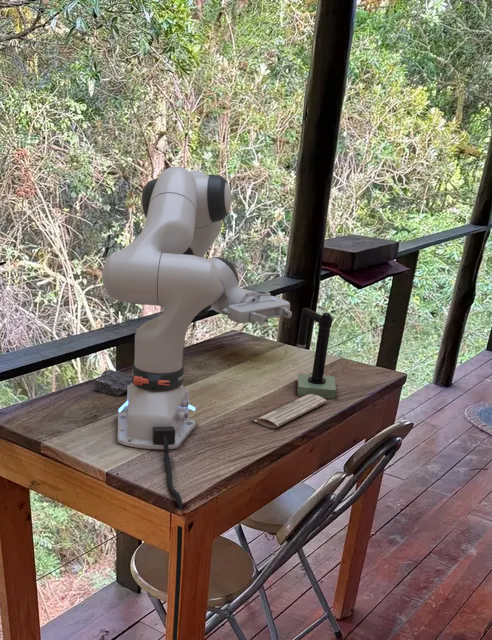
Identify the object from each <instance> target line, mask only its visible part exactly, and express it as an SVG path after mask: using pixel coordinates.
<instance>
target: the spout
mask: <svg viewBox="0 0 492 640" xmlns="http://www.w3.org/2000/svg"><path fill="white" fill-rule="evenodd" d="M310 319H311V320H312V321H314V322H317V323H318V324H317V325H318V328H319V327H321V328H330V329H331V328H332V327H333V321H334V320H333V319H334V318H333V316H332V315H331V313H329V312H323V313H322V314H320V313H318V312H316V311H314V310H312V309H310V308H308V307H303V308H302V310H301V315H300V321H299V329H298V338H297V343H296V348H299V349H306V347H307V336H308V327H309V321H310Z"/></svg>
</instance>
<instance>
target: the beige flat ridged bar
mask: <svg viewBox="0 0 492 640" xmlns="http://www.w3.org/2000/svg"><path fill="white" fill-rule="evenodd" d="M326 403H327V399H326V398H322V397H320V396H318V395H313V394H309V395H305V396H300V397H298V398H297V399H295V400H293V401H291V402H288V403H286V404H285V405H283V406H281V407H279V408H276V409H273V410H272V411H270V412H268V413H266V414H263V415H261V416H260V417H257V418H256V419H254V420H253V422H255V423H257V424H260V425H262V426H264V427H266V428H269V429H277V428H279V427H281V426H283V425H285V424H287V423H289V422H291V421H293V420H295V419H297V418H298V417H300V416H302V415H304V414H307V413H308V412H311V411H312V410H315V409H317V408H318V407H321V406H322V405H324V404H326Z"/></svg>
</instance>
